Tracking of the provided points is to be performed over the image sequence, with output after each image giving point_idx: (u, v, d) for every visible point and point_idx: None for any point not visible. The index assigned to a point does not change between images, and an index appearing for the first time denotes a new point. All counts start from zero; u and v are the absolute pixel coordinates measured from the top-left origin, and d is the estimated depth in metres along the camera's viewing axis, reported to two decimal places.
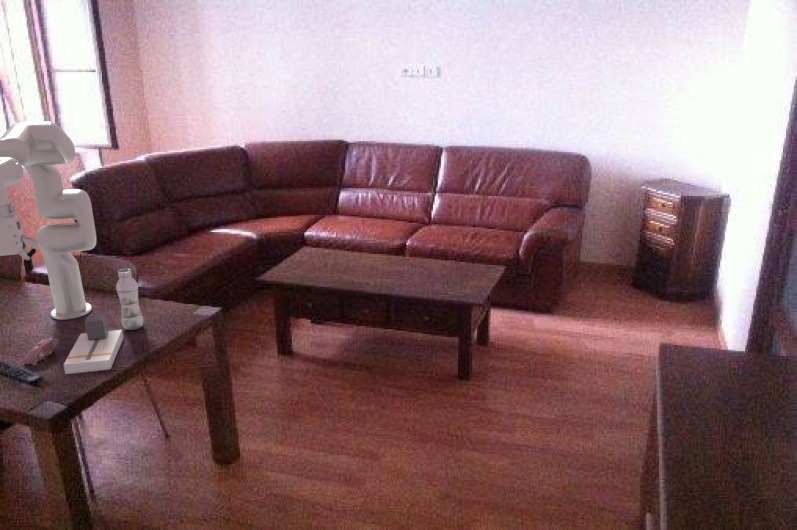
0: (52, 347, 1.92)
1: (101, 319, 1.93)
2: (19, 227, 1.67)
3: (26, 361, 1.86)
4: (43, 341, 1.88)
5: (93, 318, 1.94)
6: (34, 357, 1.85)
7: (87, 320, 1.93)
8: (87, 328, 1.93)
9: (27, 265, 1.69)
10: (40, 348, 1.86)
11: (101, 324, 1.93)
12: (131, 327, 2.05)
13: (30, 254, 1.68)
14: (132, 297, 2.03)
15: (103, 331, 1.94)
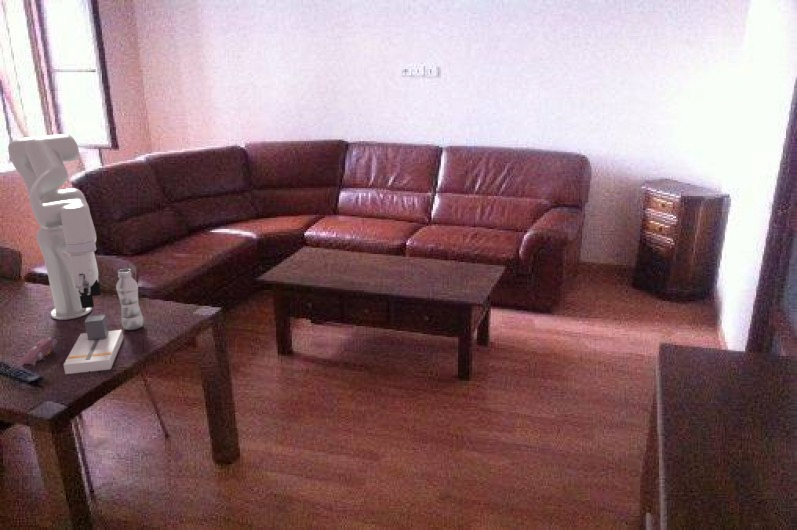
0: (51, 347, 1.92)
1: (101, 319, 1.93)
2: None
3: (25, 361, 1.87)
4: (42, 341, 1.88)
5: (93, 318, 1.94)
6: (33, 357, 1.85)
7: (87, 320, 1.93)
8: (87, 328, 1.93)
9: None
10: (39, 348, 1.86)
11: (101, 324, 1.93)
12: (131, 327, 2.05)
13: None
14: (132, 297, 2.03)
15: (103, 331, 1.94)
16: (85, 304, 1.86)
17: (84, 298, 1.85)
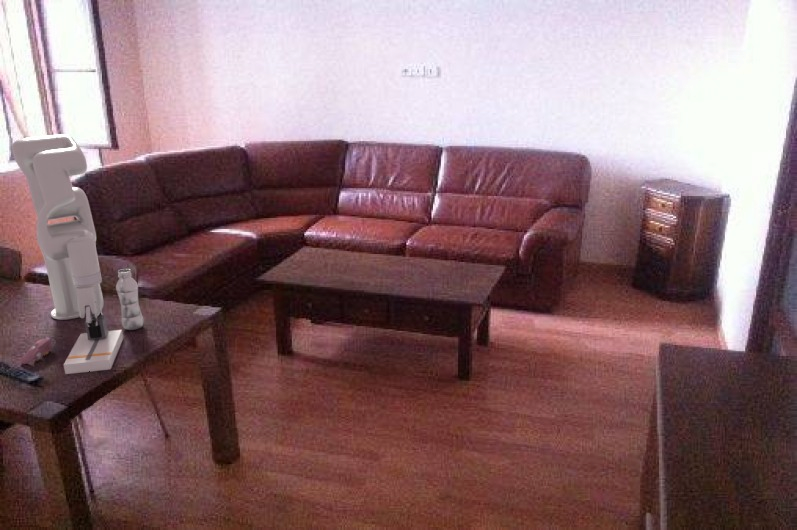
0: (49, 347, 1.92)
1: (101, 319, 1.93)
2: None
3: (23, 361, 1.86)
4: (40, 341, 1.88)
5: (93, 318, 1.94)
6: (31, 357, 1.85)
7: None
8: (87, 328, 1.93)
9: None
10: (37, 348, 1.86)
11: (101, 324, 1.93)
12: (131, 327, 2.05)
13: None
14: (132, 297, 2.03)
15: (103, 331, 1.94)
16: (93, 335, 1.92)
17: (92, 329, 1.92)
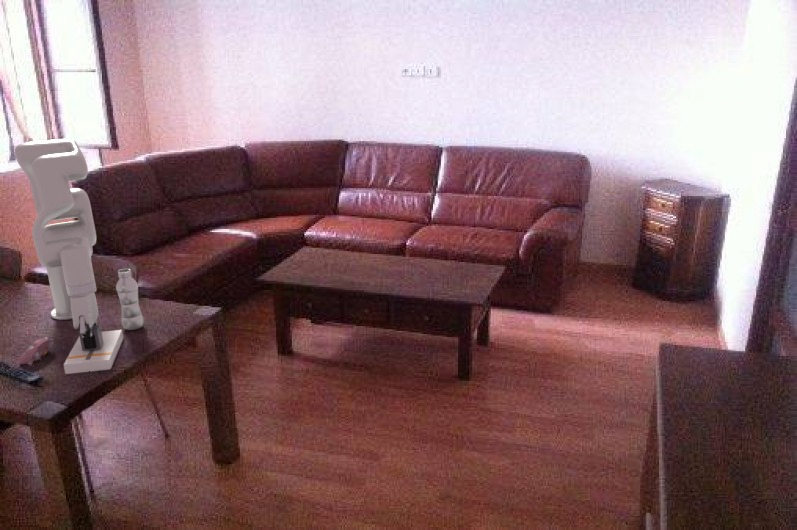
0: (47, 347, 1.92)
1: (96, 329, 1.87)
2: None
3: (21, 361, 1.86)
4: (38, 341, 1.88)
5: (88, 329, 1.87)
6: (30, 357, 1.85)
7: None
8: (81, 338, 1.86)
9: None
10: (36, 348, 1.86)
11: (96, 334, 1.86)
12: (131, 327, 2.05)
13: None
14: (132, 297, 2.03)
15: (98, 342, 1.87)
16: (88, 345, 1.86)
17: (86, 340, 1.85)
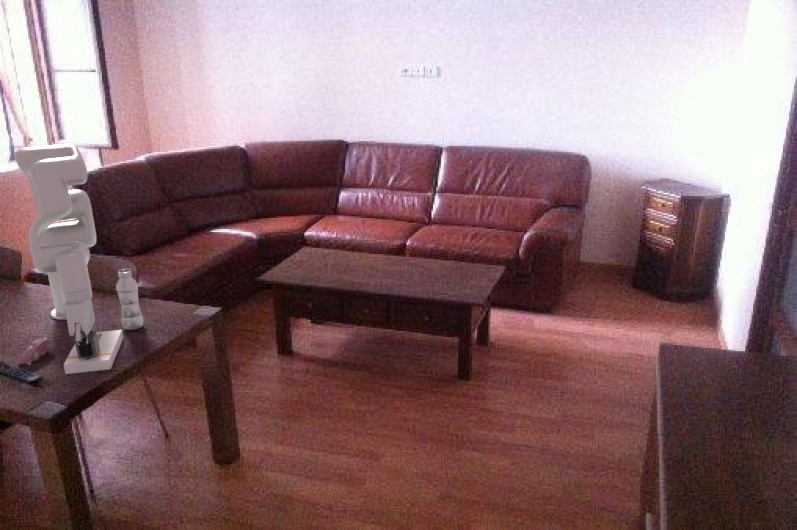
0: (46, 347, 1.92)
1: (92, 337, 1.82)
2: None
3: (20, 361, 1.86)
4: (37, 341, 1.88)
5: (84, 336, 1.83)
6: (29, 357, 1.85)
7: None
8: (77, 346, 1.82)
9: None
10: (35, 348, 1.86)
11: (92, 342, 1.82)
12: (131, 327, 2.05)
13: None
14: (132, 297, 2.03)
15: (94, 349, 1.83)
16: (84, 353, 1.81)
17: (82, 348, 1.81)
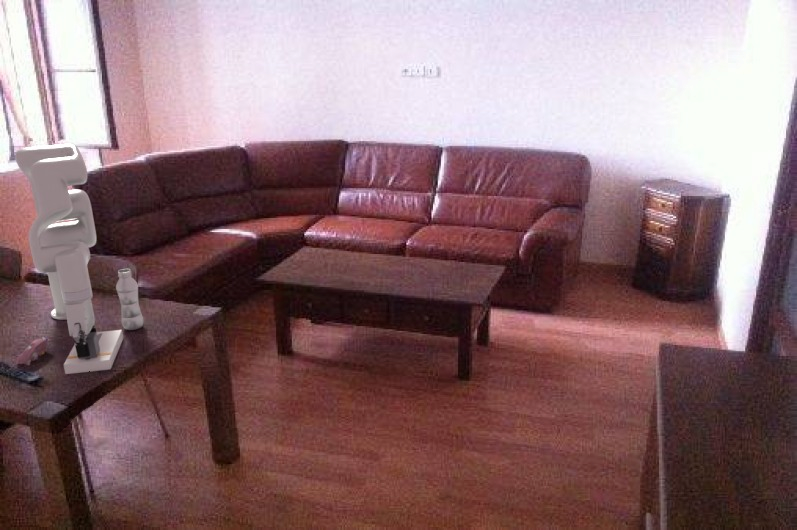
0: (45, 347, 1.92)
1: (92, 337, 1.82)
2: None
3: (19, 362, 1.86)
4: (36, 341, 1.88)
5: None
6: (27, 357, 1.85)
7: None
8: None
9: None
10: (33, 348, 1.86)
11: (92, 342, 1.82)
12: (131, 327, 2.05)
13: None
14: (132, 297, 2.03)
15: (94, 349, 1.83)
16: (81, 353, 1.79)
17: (80, 348, 1.78)
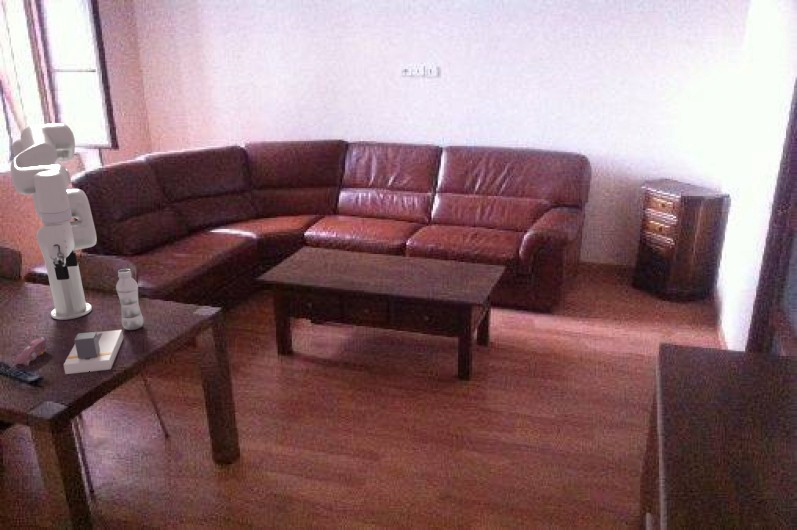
0: (44, 347, 1.92)
1: (92, 337, 1.82)
2: None
3: (18, 362, 1.86)
4: (35, 341, 1.88)
5: (84, 336, 1.83)
6: (26, 357, 1.85)
7: (77, 338, 1.82)
8: (77, 346, 1.82)
9: None
10: (32, 348, 1.86)
11: (92, 342, 1.82)
12: (131, 327, 2.05)
13: None
14: (132, 297, 2.03)
15: (94, 349, 1.83)
16: (60, 276, 1.79)
17: (59, 270, 1.78)
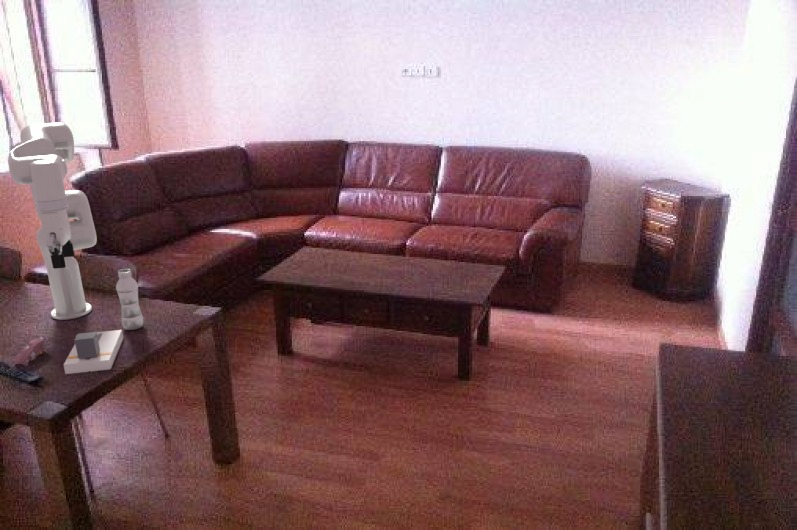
0: (43, 347, 1.92)
1: (92, 337, 1.82)
2: None
3: (17, 362, 1.86)
4: (34, 341, 1.88)
5: (84, 336, 1.83)
6: (25, 357, 1.85)
7: (77, 338, 1.82)
8: (77, 346, 1.82)
9: None
10: (31, 348, 1.86)
11: (92, 342, 1.82)
12: (131, 327, 2.05)
13: None
14: (132, 297, 2.03)
15: (94, 349, 1.83)
16: (56, 264, 1.80)
17: (55, 258, 1.79)
